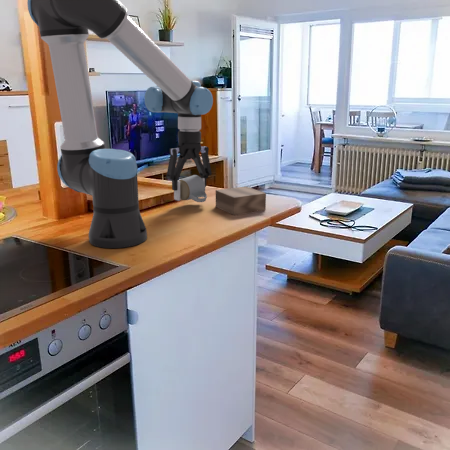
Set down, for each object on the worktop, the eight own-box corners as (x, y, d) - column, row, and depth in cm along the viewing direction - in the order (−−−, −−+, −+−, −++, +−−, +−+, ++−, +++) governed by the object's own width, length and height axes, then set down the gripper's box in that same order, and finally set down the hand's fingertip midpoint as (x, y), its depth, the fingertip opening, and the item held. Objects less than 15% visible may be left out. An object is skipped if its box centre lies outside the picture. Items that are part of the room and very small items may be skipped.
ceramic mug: (172, 199, 161) (172, 176, 158) (189, 195, 167) (189, 173, 164) (195, 204, 154) (196, 181, 152) (212, 200, 160) (213, 178, 158)
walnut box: (234, 216, 151) (234, 197, 149) (215, 207, 161) (215, 190, 159) (265, 211, 157) (265, 193, 155) (245, 203, 167) (246, 186, 165)
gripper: (210, 128, 164) (209, 192, 170) (154, 130, 152) (155, 199, 158) (223, 130, 158) (222, 196, 164) (165, 132, 146) (166, 204, 152)
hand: (189, 198), depth 161 cm, fingers closed on ceramic mug, 9 cm apart
